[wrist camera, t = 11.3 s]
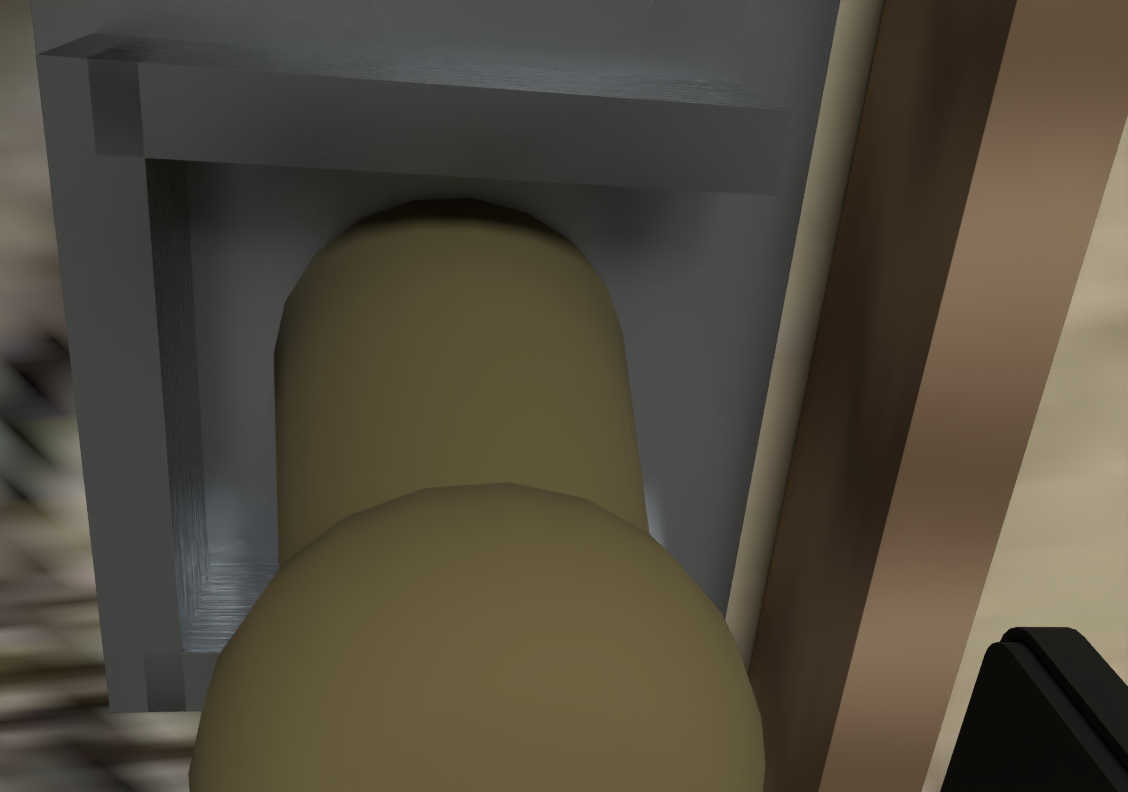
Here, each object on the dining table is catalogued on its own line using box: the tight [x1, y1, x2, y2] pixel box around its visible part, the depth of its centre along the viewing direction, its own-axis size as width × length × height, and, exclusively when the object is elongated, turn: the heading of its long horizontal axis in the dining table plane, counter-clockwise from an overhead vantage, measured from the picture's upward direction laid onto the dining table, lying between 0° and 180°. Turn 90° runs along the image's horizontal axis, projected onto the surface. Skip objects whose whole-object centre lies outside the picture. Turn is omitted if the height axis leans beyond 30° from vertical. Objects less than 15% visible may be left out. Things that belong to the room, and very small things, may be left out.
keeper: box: [30, 0, 840, 713], centre depth 17 cm, size 14×12×3 cm
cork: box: [188, 198, 765, 792], centre depth 13 cm, size 6×6×11 cm
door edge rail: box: [748, 0, 1128, 792], centre depth 18 cm, size 22×2×4 cm, turn 175°
